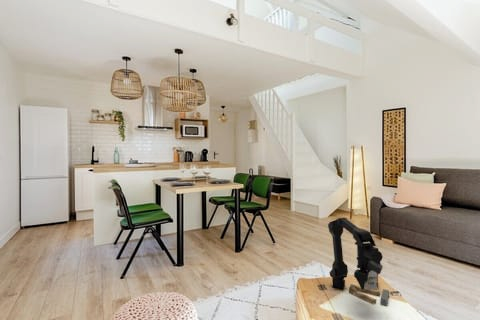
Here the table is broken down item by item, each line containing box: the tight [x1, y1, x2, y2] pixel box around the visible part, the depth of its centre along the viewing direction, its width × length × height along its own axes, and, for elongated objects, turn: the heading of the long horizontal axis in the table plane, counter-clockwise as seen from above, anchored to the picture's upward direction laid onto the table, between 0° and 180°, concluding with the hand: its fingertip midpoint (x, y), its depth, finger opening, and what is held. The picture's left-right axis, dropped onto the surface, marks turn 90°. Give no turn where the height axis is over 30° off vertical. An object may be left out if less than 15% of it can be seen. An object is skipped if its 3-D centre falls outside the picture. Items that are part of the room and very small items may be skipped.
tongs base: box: [348, 283, 381, 298], centre depth 146 cm, size 15×7×2 cm, turn 55°
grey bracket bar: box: [380, 288, 390, 307], centre depth 139 cm, size 3×12×3 cm, turn 145°
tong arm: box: [348, 285, 377, 305], centre depth 142 cm, size 15×2×4 cm, turn 33°
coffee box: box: [365, 270, 379, 291], centre depth 156 cm, size 9×6×16 cm
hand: (364, 285), depth 132 cm, fingers open, 9 cm apart
